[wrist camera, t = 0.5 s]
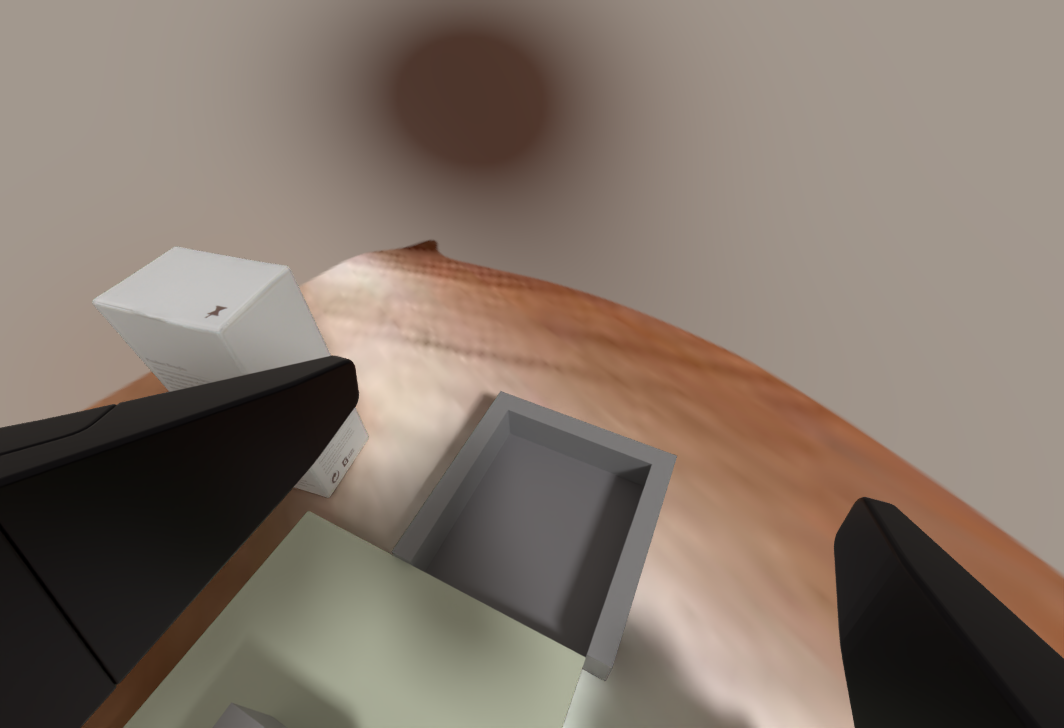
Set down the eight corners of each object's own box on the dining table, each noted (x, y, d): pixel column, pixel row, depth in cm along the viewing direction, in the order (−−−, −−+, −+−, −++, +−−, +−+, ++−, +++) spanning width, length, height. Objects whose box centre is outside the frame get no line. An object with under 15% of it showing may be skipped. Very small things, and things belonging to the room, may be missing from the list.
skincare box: (372, 436, 27) (295, 264, 19) (330, 501, 25) (216, 334, 16) (284, 413, 29) (174, 241, 20) (235, 472, 26) (81, 302, 17)
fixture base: (394, 1363, 10) (295, 1747, 6) (11, 914, 15) (-198, 957, 11) (667, 481, 25) (693, 415, 21) (433, 391, 30) (416, 322, 25)
